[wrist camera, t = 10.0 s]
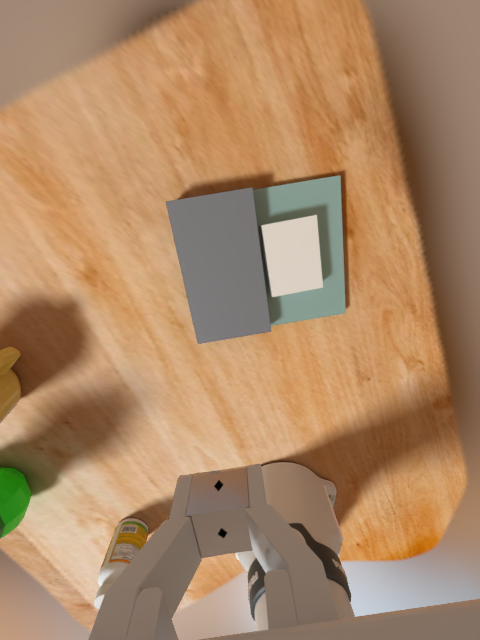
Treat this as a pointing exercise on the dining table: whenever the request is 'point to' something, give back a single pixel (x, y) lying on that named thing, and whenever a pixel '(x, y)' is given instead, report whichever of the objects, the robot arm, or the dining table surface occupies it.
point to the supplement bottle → (120, 553)
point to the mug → (8, 381)
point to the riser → (221, 264)
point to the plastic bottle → (12, 499)
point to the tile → (292, 255)
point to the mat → (327, 205)
